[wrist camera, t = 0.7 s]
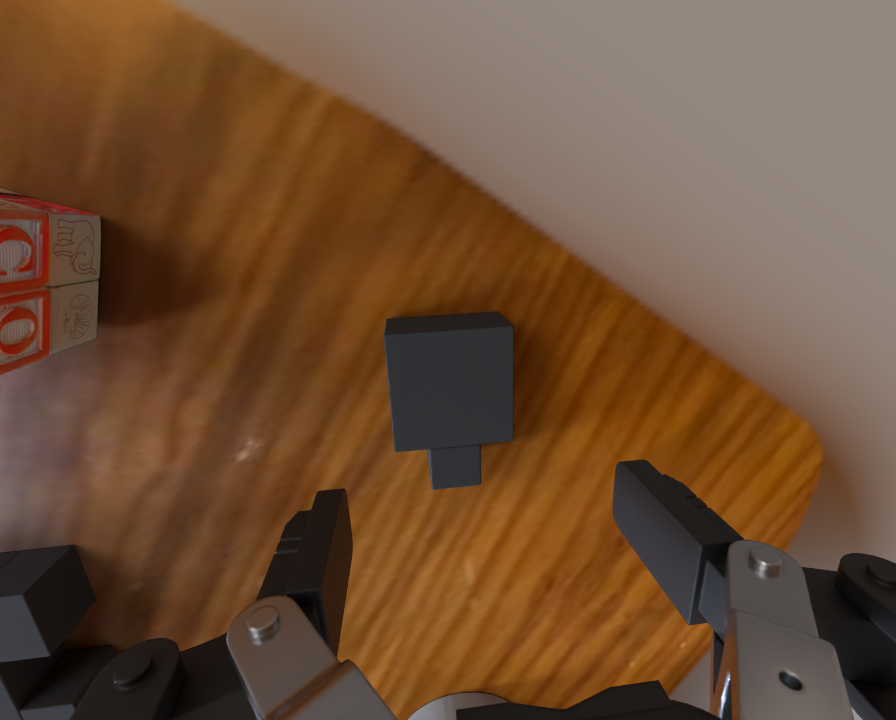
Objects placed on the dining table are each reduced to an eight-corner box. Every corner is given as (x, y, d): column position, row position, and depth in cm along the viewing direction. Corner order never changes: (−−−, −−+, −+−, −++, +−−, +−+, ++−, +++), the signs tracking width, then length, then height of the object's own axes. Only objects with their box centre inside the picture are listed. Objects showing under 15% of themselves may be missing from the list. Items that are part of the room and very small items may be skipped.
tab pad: (398, 458, 25) (398, 494, 22) (386, 318, 22) (383, 335, 19) (499, 448, 26) (513, 482, 22) (497, 311, 23) (514, 326, 20)
